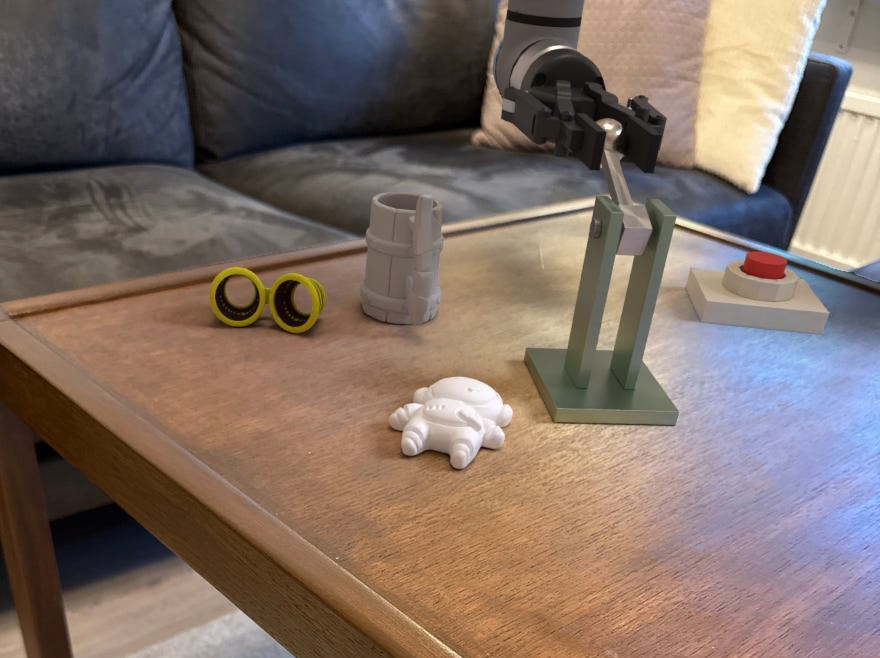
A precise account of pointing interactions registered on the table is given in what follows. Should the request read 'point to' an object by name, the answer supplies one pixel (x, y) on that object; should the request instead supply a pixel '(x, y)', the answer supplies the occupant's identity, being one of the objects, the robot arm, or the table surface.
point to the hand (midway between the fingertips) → (625, 152)
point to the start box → (755, 300)
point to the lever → (623, 192)
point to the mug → (403, 258)
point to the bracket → (620, 370)
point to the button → (764, 265)
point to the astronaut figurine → (453, 419)
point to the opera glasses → (267, 300)
